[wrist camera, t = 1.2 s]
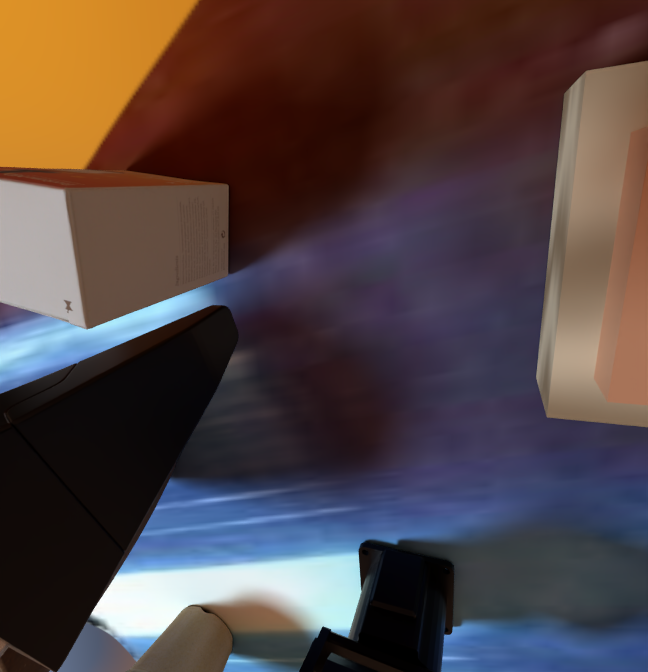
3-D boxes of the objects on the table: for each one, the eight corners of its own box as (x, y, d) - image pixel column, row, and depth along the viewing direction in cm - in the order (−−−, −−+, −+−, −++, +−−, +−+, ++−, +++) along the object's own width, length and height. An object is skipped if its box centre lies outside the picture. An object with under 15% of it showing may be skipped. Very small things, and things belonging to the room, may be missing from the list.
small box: (232, 183, 23) (68, 186, 14) (230, 277, 25) (88, 333, 16) (122, 167, 25) (-83, 161, 16) (129, 255, 28) (-47, 293, 18)
